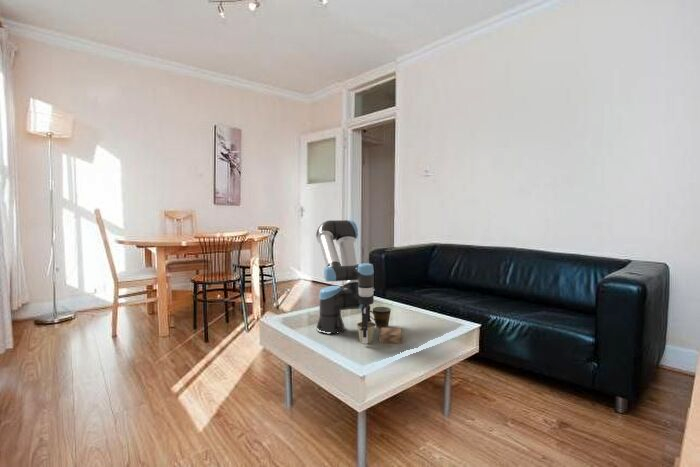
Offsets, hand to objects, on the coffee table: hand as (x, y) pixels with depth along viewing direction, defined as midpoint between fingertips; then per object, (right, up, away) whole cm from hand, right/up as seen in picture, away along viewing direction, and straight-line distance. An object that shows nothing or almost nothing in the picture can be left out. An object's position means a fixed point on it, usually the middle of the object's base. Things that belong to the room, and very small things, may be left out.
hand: (366, 339), depth 177 cm
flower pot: (0, -2, 0) cm, 2 cm away
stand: (+13, -1, +3) cm, 13 cm away
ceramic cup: (+8, 0, +22) cm, 24 cm away
